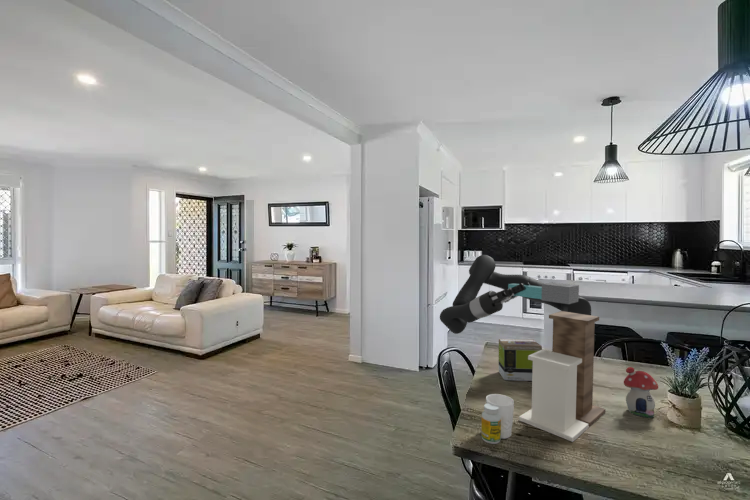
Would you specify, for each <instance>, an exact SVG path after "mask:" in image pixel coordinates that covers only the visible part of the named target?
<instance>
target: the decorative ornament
mask: <svg viewBox="0 0 750 500" xmlns="http://www.w3.org/2000/svg"><path fill="white" fill-rule="evenodd" d="M625 372H626V373H627V374H628V375H626V377H625V378H624V380H623V385H624V387H627V388H629V389H630V390H628V392H627V395H626V397H625V403H626V406H627V410H628V411H629V413H630V414H631V415H635V416H637V417H641V418H647V419H649V418H650V419H651V418H654V417H655V407H656V401H655V398H654V397H653V395H652V394H651V393H650V391H656V390H659V385H658V383H657V381H656V379H655V378H654V377H653V376H652V375H650V373H648V372H646V371H642V370H635V368H634V367H632V366H629V367H627V368H625Z"/></svg>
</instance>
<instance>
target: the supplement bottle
mask: <svg viewBox="0 0 750 500" xmlns="http://www.w3.org/2000/svg"><path fill="white" fill-rule="evenodd" d="M483 410H484V411H482V412H481V425H480V427H481V435H480V436H481V440H482V441H484V442H486V443H487V444H493V445H495V444H499V443H501V439H502V438H501V416H500V414H499V413H498V412H499V407H498V406H494V405H492V404H490V403H488V404H486V403H484V405H483Z"/></svg>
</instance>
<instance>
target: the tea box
mask: <svg viewBox="0 0 750 500" xmlns="http://www.w3.org/2000/svg"><path fill="white" fill-rule="evenodd" d="M540 350H543V347H542V345H541V344H539V343H538V342H537V341H535V339H519V338H518V339H516V338H514V339H513V338H498V372H499V374H500V375H501V377H502V379H503V380H504V381H526V382H532V370H533V361H532V360H528V356H529V355H531V354H533V353H536V352H538V351H540Z"/></svg>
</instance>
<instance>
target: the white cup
mask: <svg viewBox="0 0 750 500" xmlns="http://www.w3.org/2000/svg"><path fill="white" fill-rule="evenodd" d="M488 403H490V404H492V405H494V406H498V407H499V412H498V413H499V414H500V416H501V439H509V438H510V437H511V436H512V430H513V428H512V427H513V422H514V409H515V407H514V406H515V401H514V399H513V397H510V396H508V395H505V394H499V393H489V394H487V395H486V397H485V404H488Z"/></svg>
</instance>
